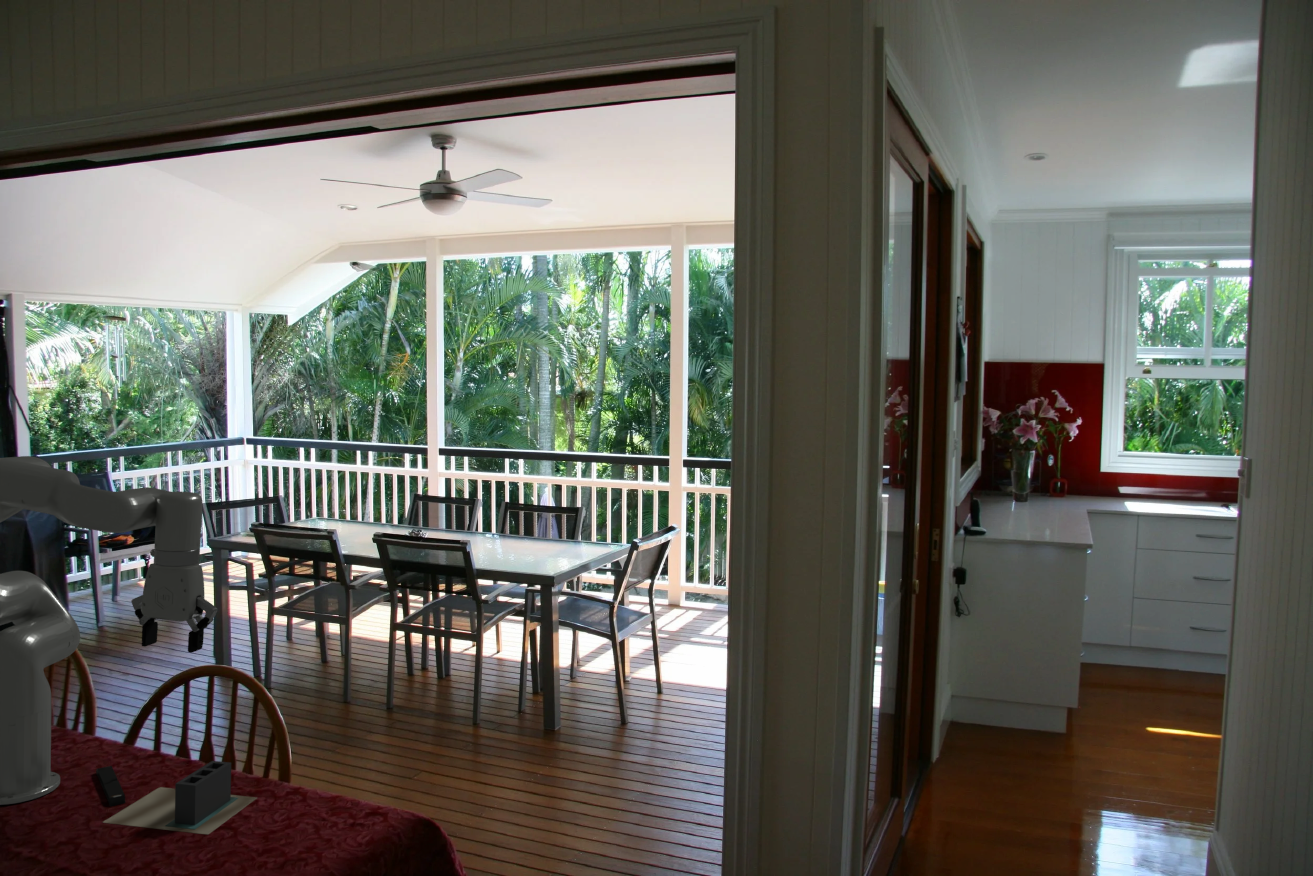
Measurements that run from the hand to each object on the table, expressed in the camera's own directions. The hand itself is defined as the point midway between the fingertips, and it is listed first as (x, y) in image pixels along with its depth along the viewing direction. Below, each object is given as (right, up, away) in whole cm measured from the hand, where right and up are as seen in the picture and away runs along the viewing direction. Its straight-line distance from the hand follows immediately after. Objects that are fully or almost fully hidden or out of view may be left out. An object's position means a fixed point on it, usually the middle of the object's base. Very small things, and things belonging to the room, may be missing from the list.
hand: (172, 647), depth 161 cm
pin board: (+6, -29, -8) cm, 30 cm away
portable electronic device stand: (-12, -28, 0) cm, 31 cm away
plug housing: (+10, -27, -8) cm, 30 cm away
